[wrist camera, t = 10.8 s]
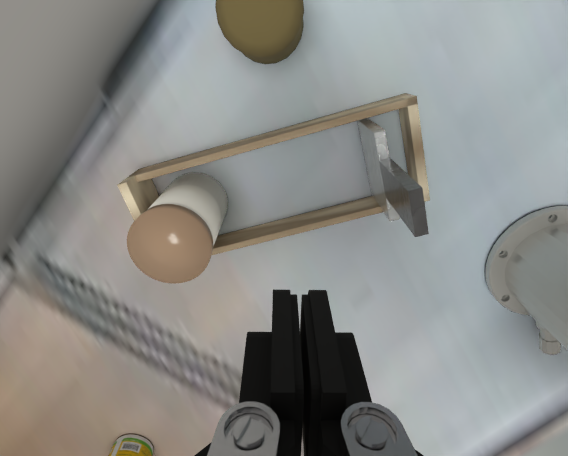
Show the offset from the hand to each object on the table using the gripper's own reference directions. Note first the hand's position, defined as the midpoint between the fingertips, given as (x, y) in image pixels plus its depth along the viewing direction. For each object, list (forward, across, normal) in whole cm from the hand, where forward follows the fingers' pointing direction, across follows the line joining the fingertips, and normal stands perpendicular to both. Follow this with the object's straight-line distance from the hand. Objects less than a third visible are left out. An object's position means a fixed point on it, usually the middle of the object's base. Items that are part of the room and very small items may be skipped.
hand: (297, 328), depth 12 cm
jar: (+26, +8, +5) cm, 27 cm away
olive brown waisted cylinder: (+26, +2, -10) cm, 28 cm away
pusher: (+25, -8, 0) cm, 26 cm away
